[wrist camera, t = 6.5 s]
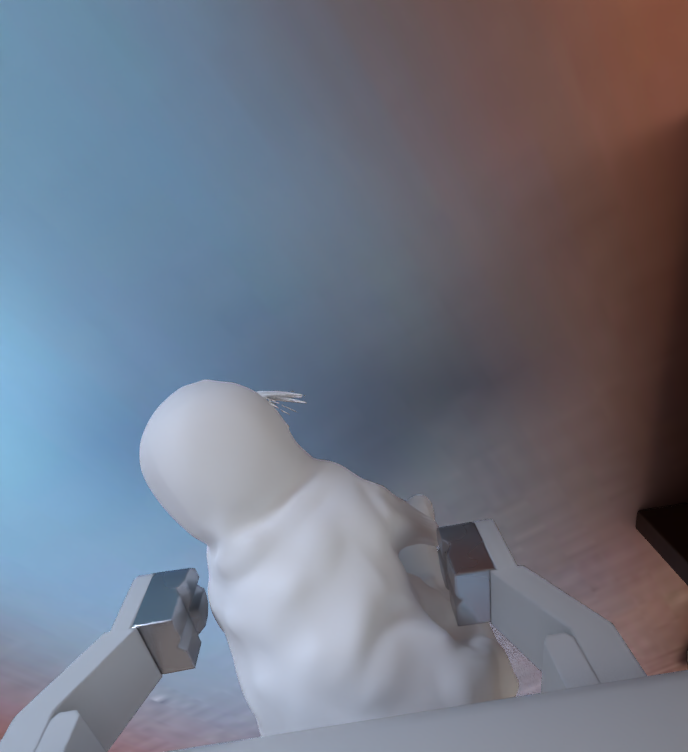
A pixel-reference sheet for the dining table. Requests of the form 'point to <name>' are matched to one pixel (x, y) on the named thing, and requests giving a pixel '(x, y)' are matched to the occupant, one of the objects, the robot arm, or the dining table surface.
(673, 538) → the shelf stand
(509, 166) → the dining table surface
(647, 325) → the dining table surface
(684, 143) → the dining table surface
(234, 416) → the white figurine
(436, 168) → the dining table surface
